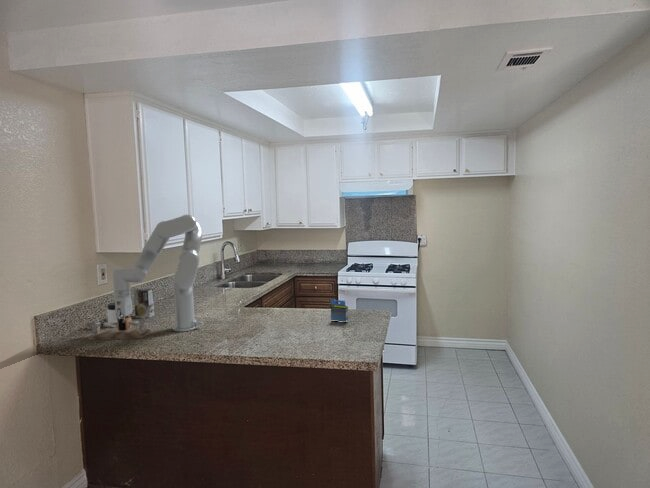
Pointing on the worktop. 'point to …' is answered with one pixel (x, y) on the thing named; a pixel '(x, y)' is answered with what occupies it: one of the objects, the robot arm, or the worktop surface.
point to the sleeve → (126, 323)
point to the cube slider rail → (116, 333)
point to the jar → (111, 313)
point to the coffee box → (144, 303)
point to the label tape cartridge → (339, 310)
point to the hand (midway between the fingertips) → (124, 328)
